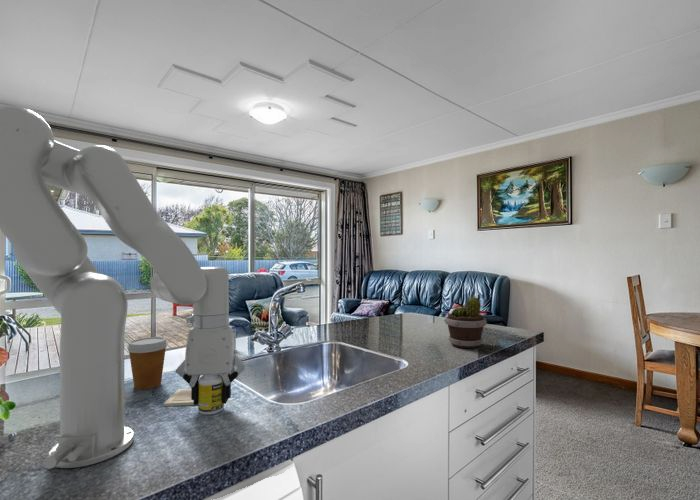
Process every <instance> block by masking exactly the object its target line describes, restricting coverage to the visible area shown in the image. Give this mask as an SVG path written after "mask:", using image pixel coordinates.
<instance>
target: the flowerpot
mask: <svg viewBox="0 0 700 500" xmlns="http://www.w3.org/2000/svg"><path fill="white" fill-rule="evenodd" d="M475 294H476V293H475ZM475 294H473V295H470V296H469V298H467V299H465V300H466V303H465V305H462V307H461V306H460V305H458V306H457V305H456V306H455V308H452V312H451V313H447V316H446V317H445V318H444V320H443V321H444V323H445V324H446V325H447V328H448V329H447V330H448V332H449V336H448V341H449V342H450V343H451V345H452V346H453V347H455V346H456V347H455V348H458V347H460V348H459V349H463V348H466V349H467V348H474V349H476V348H475V347H477V348H480V345H482V343H483V341H484V340H483V337H482V335H483V331H484V327H485V326H486V325H487V323H488V321H487V319H486V318H485V317H484V315H482V313H481V312H482V307H483V305H482V304H483V302H482V301H481V300H480V299H479V297H478V296H477V295H475Z"/></svg>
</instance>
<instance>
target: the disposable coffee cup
mask: <svg viewBox="0 0 700 500" xmlns="http://www.w3.org/2000/svg"><path fill="white" fill-rule="evenodd" d="M167 346H168V342H167V339H166V337H162V336H153V337H152V336H149V337H141V338H136V339H132V340H130V341H129V342H128V346H127V347H126V349H127V352H128V354H129V360H130V367H131V374H132V380H133V388H134V389H135V390H139V391H142V390H151V389H155V388H157V387H159V386H161V384H162V378H163V372H164V371H163V370H164V364H165V363H164V362H165V356H166V348H167Z"/></svg>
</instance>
